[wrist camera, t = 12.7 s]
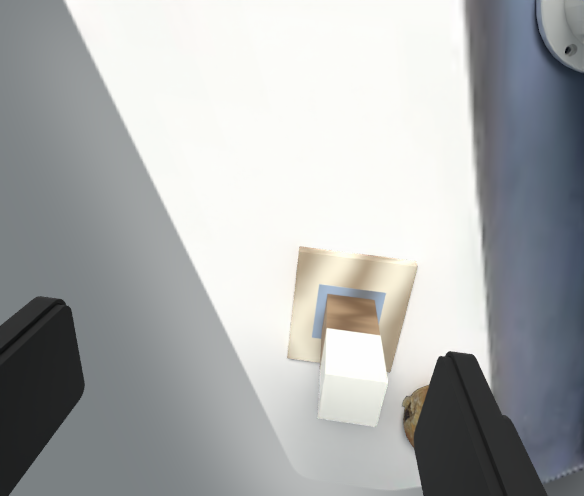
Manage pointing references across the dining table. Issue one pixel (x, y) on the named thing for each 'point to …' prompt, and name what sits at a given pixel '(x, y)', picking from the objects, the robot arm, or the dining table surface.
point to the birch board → (348, 282)
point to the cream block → (352, 378)
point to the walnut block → (349, 316)
